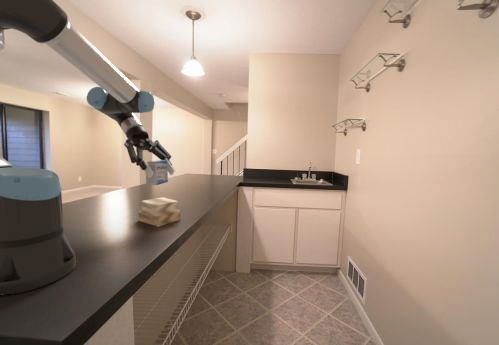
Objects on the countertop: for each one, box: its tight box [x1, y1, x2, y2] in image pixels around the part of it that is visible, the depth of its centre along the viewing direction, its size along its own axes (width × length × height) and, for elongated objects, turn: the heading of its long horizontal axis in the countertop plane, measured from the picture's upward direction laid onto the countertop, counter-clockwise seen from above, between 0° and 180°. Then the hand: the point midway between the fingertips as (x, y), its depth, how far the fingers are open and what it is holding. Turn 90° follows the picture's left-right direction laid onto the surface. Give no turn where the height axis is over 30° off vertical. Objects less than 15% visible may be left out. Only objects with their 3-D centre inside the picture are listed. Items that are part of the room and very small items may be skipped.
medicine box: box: [145, 159, 169, 186], centre depth 88 cm, size 8×4×9 cm, turn 169°
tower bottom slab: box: [138, 209, 181, 228], centre depth 90 cm, size 10×12×4 cm
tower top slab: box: [140, 196, 179, 217], centre depth 89 cm, size 9×11×4 cm
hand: (162, 174), depth 86 cm, fingers closed on medicine box, 9 cm apart
